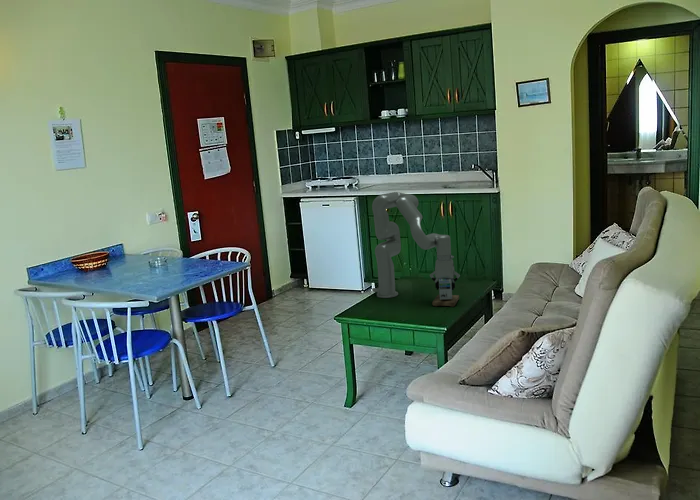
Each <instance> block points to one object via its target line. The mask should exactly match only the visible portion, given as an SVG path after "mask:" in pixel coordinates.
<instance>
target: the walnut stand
mask: <svg viewBox="0 0 700 500" xmlns="http://www.w3.org/2000/svg"><path fill="white" fill-rule="evenodd" d="M459 300H460V295H459V294H454V295H453V294H452V299H444V300H440V295H439V294H437V296H435V298H434V299H433V301H432V303H431V305H432V306H433V307H438V306H439V307H440V306H441V307H442V306H443V307H446V306H447V307H450V308H451V307H452V308H455V306H456V305H457V303H458V301H459Z"/></svg>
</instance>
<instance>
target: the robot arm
mask: <svg viewBox="0 0 700 500" xmlns="http://www.w3.org/2000/svg"><path fill="white" fill-rule="evenodd" d="M419 205H420V204H419V199H418V198H417V196H416V195H414V194H410V193H404V192H399V191H394V192H388V193H383V194H379V195H377V196H376V197H375V198H374V199H373V200H372V204H371V207H372V208H371V210H372V214H373V221H374V230H375V231H374V232H375V236H376V238H377V240H379V241H383V242H380V243H378V244H376V247H375V248H374V254H375V255H374V256H375V258H376V263H377V264H376V266H377V279H378V280H377V281H378V287H377V288H376V287H374V288H373V287H372V290H371V291H372V292H373V293H376V297H377V298H382V299H389V298H390V299H391V298H396V297H397V296H399V292H398V291H396V280H395V278H396V277H395V265H394V262H393V259H392V257H395V256H398V255H399V254H400V252H401V249H402V243H401V233H400V228H399V225H398V224H397V223H396V222H394V221H390V217H389V213H388V211H387V209H392V208H397V209H398V211H399V212H400V213H401V215H402V216H403V218H404V219H405V220H406V222H407V224H408V225H409V227H410V229H409V230H410V233H411V236H412V238H413V241H415V243H416V244H417V246H418V247H420V249H422V250H426V251H427V250H430V249H433V248H436V260H435V265H434V266H435V267H434V271H433V272H432V273H430V274H429V277H430V278H431V280H432V281H433V282H434V284H435V287H434V288H435V289H436V291H439V279H451V282H452V291H454V289H455V288H456V282H457V281H458V280H459V278H460V276H461V275H460V273H458V272H457V271H455V264H454V260H453V259H454V258H455V256H454V255H452V246H451V244H452V243H451V236H450V235H449V234H441V233H440V234H438V233H433V232H432V233H429V234H427V235H426V233H425V232H424V231H423V229H422V226H421V223H422V222H421V221H422V220H423V215H422V213H421V212H420V211H419V210H418V206H419ZM384 240H386V241H384ZM455 276H456V277H455ZM454 277H455V278H454Z"/></svg>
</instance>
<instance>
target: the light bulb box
mask: <svg viewBox="0 0 700 500" xmlns="http://www.w3.org/2000/svg"><path fill="white" fill-rule="evenodd" d="M438 282H439V289H438V292H439V294H438V295H440V300H444V299H452V295H453V290H452V281H451V279H438Z"/></svg>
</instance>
